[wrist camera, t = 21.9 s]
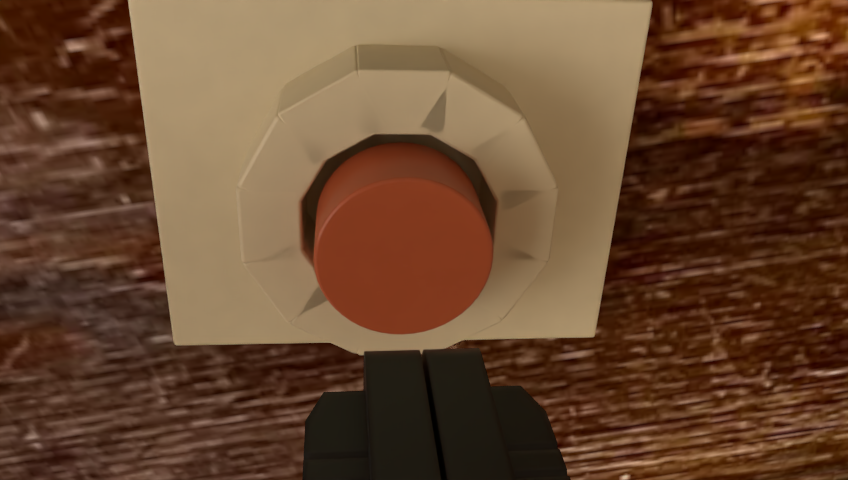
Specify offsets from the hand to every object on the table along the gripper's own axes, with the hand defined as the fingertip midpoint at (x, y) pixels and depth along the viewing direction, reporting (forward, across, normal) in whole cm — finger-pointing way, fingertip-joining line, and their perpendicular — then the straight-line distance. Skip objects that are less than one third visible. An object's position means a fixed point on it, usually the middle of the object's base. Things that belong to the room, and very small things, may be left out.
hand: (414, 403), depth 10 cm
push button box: (+8, 0, 0) cm, 8 cm away
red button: (+6, 0, 0) cm, 6 cm away
